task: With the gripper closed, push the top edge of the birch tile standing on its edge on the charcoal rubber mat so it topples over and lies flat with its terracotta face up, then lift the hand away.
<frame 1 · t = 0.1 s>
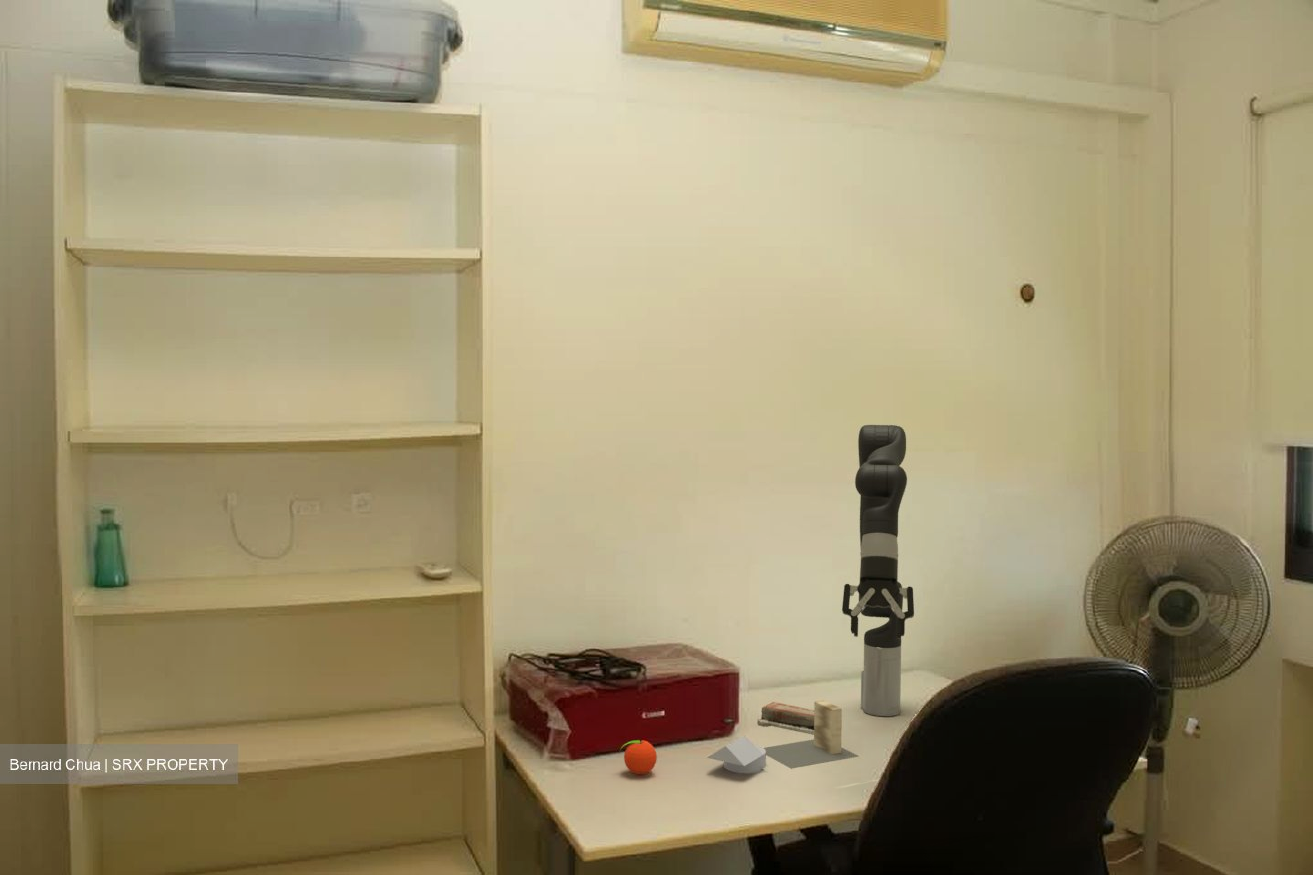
hand: (877, 637, 221), 31 cm above the table, tool tilted 20°, fingers open, 8 cm apart
wedge on round base: (740, 769, 235), on the table
mat: (807, 754, 244), on the table
packaged product: (798, 729, 265), on the table
clementine: (637, 774, 232), on the table
birch tile: (827, 748, 247), resting on mat
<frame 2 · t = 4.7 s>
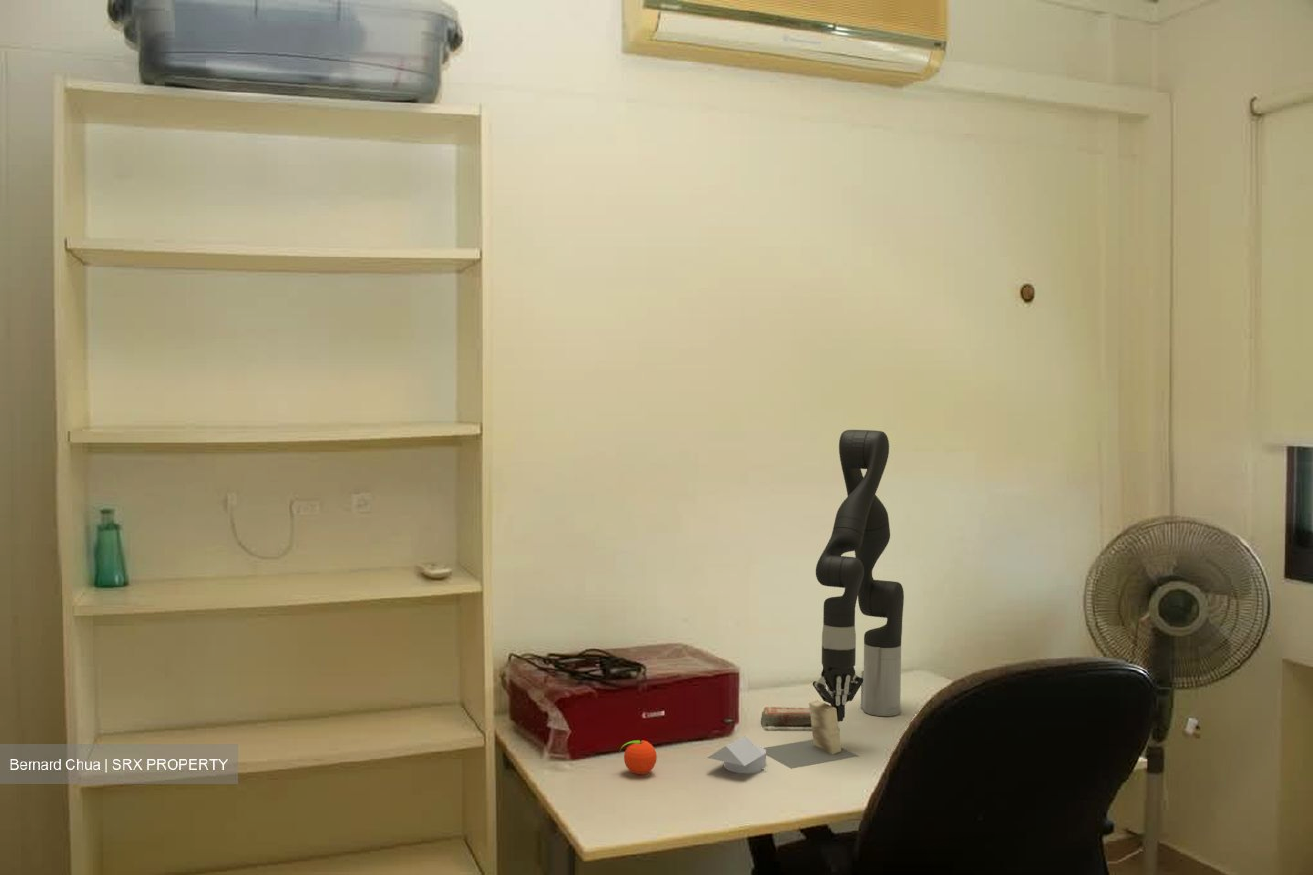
hand: (837, 720, 247), 7 cm above the table, tool pointing down, fingers closed
birch tile: (827, 748, 247), point 1 cm above the table, tilted 9°, touching gripper, mat
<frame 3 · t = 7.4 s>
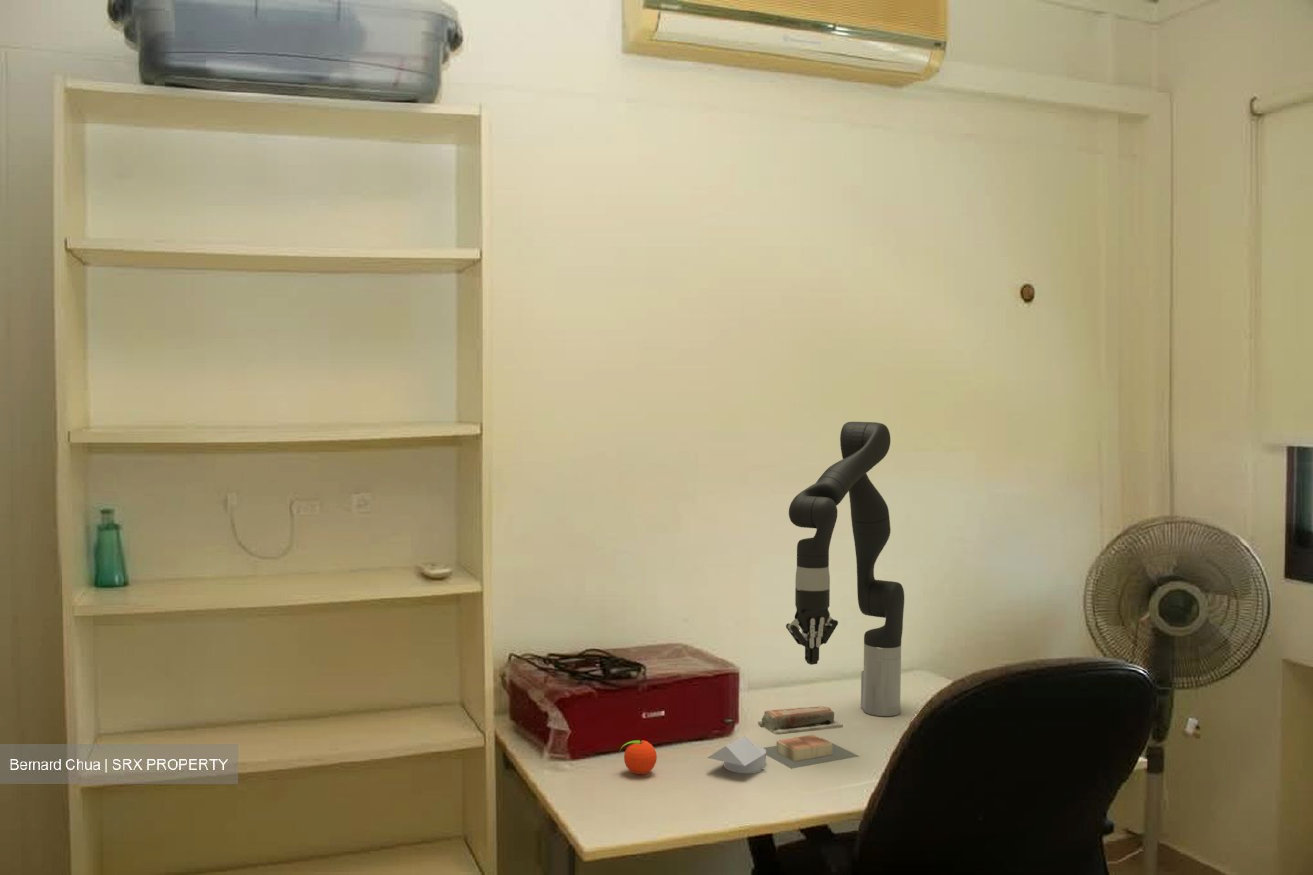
hand: (811, 663, 244), 20 cm above the table, tool pointing down, fingers closed
birch tile: (822, 744, 246), point 2 cm above the table, tilted 90°, touching mat
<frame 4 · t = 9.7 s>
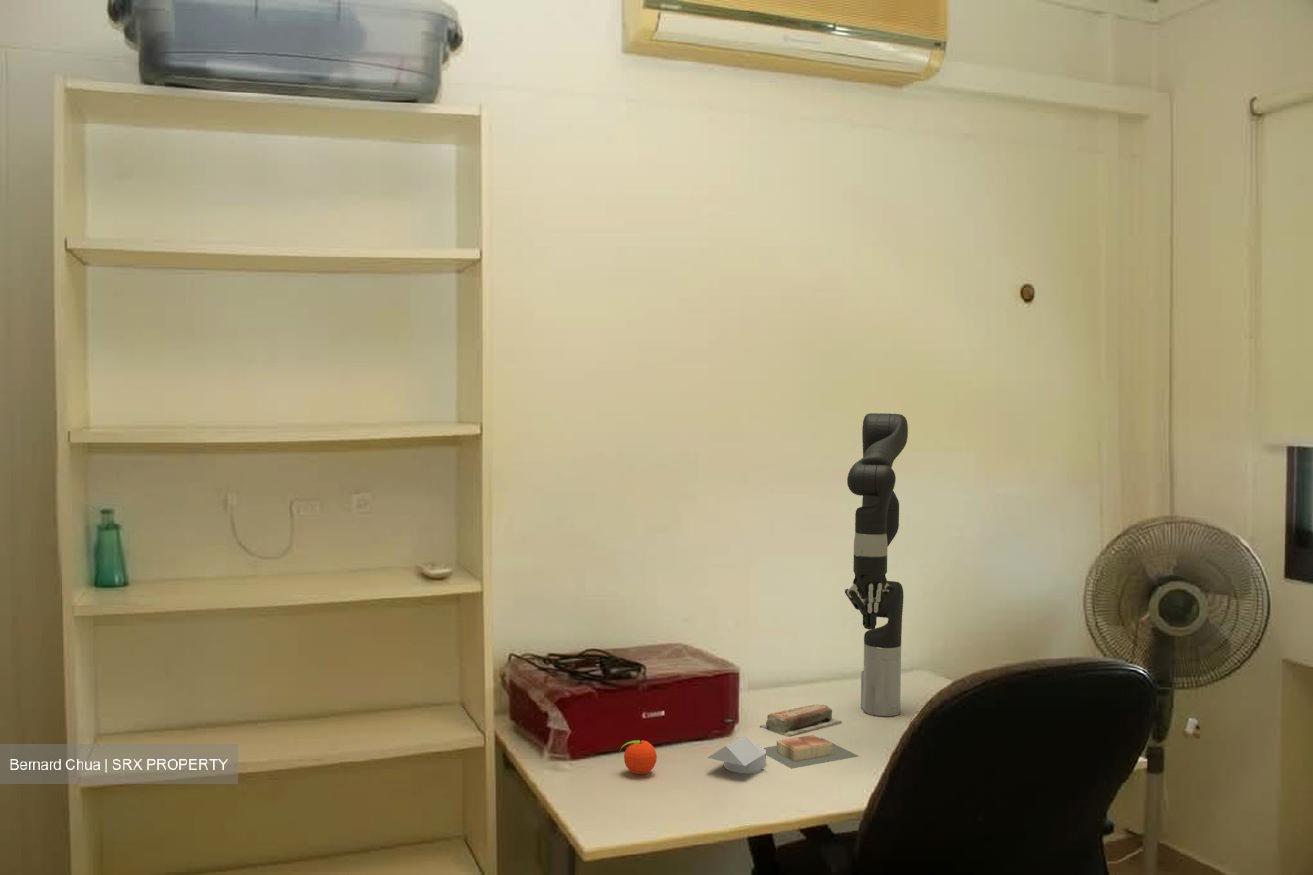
hand: (869, 628, 249), 27 cm above the table, tool pointing down, fingers closed
at the end: birch tile tilted 90°; birch tile inside the target area on the mat (4.7 cm from its centre), point 1.7 cm above the mat's base; birch tile touching mat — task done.
